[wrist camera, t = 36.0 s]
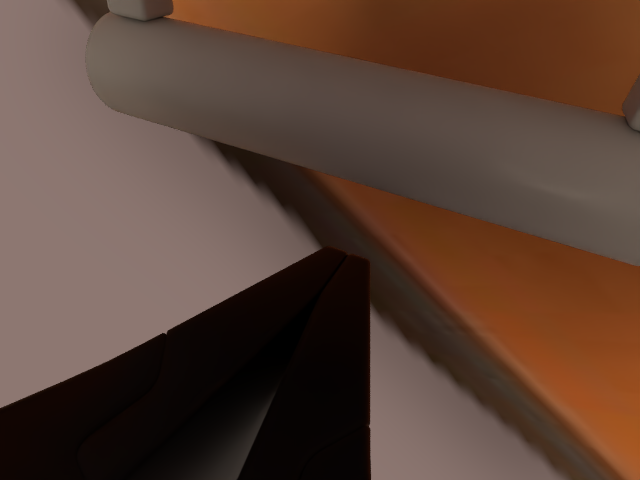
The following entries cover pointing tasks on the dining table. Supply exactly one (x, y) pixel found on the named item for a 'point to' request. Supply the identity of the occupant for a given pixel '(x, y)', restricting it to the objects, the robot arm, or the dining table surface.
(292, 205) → the dining table surface
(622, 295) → the dining table surface
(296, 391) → the robot arm
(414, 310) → the dining table surface
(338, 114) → the drawer
